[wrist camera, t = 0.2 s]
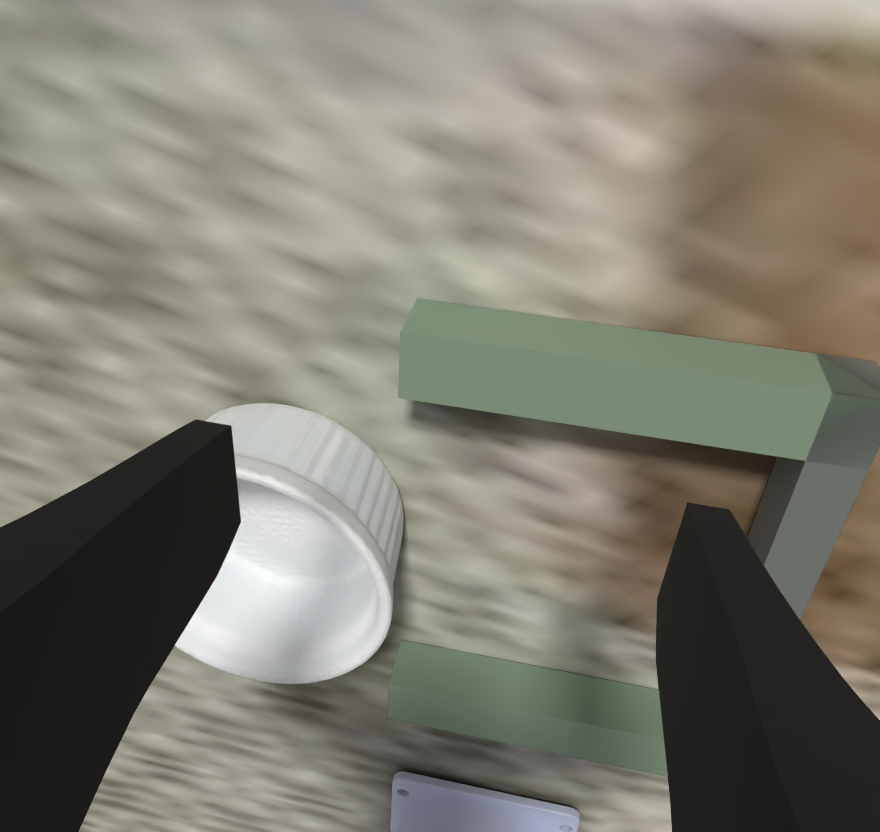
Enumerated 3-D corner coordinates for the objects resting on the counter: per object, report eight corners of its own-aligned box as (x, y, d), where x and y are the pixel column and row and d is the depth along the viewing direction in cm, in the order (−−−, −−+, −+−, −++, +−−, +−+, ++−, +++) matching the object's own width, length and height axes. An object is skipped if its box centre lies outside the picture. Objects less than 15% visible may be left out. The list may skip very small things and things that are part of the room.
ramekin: (470, 548, 26) (447, 649, 23) (276, 615, 30) (230, 711, 27) (314, 338, 23) (259, 419, 20) (118, 444, 27) (41, 527, 23)
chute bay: (717, 737, 29) (722, 788, 27) (399, 674, 31) (387, 718, 29) (876, 361, 20) (899, 403, 18) (417, 298, 22) (400, 331, 20)
